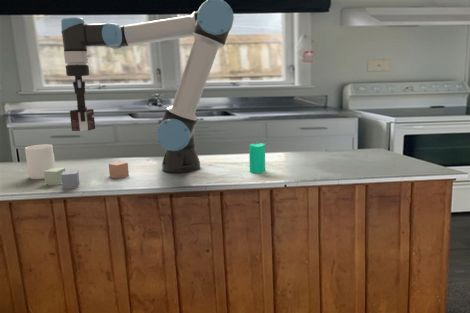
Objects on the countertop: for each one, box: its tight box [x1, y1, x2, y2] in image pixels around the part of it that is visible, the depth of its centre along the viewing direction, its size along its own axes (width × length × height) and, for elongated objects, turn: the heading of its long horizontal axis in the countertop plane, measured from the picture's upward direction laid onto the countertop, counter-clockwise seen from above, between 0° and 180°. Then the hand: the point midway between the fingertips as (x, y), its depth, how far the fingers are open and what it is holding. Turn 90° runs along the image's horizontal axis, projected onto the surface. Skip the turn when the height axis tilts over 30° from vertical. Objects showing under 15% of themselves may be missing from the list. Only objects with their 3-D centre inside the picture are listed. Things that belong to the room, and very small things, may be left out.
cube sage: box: [44, 167, 66, 186], centre depth 147 cm, size 5×5×5 cm
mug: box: [24, 143, 56, 180], centre depth 157 cm, size 10×12×12 cm
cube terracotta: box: [108, 161, 130, 179], centre depth 154 cm, size 5×5×5 cm
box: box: [69, 108, 96, 132], centre depth 146 cm, size 6×6×7 cm
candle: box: [248, 142, 266, 174], centre depth 155 cm, size 6×6×12 cm
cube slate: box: [61, 169, 81, 190], centre depth 142 cm, size 5×5×5 cm
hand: (83, 129), depth 147 cm, fingers closed on box, 8 cm apart
